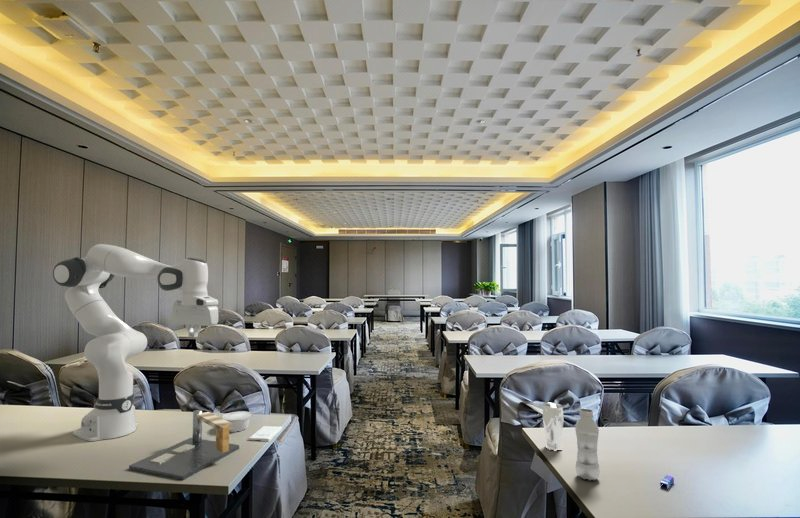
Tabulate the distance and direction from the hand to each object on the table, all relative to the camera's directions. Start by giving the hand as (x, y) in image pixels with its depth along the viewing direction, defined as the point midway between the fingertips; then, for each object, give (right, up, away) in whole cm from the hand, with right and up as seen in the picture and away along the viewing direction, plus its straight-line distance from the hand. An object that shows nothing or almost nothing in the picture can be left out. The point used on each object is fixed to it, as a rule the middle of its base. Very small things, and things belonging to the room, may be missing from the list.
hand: (193, 336), depth 152 cm
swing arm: (+14, -34, -13) cm, 39 cm away
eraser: (+156, -37, -36) cm, 164 cm away
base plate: (+7, -37, -18) cm, 42 cm away
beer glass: (+133, -38, -10) cm, 139 cm away
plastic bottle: (+135, -37, -32) cm, 144 cm away
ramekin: (+12, -39, +10) cm, 42 cm away
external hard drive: (+27, -39, +3) cm, 48 cm away
